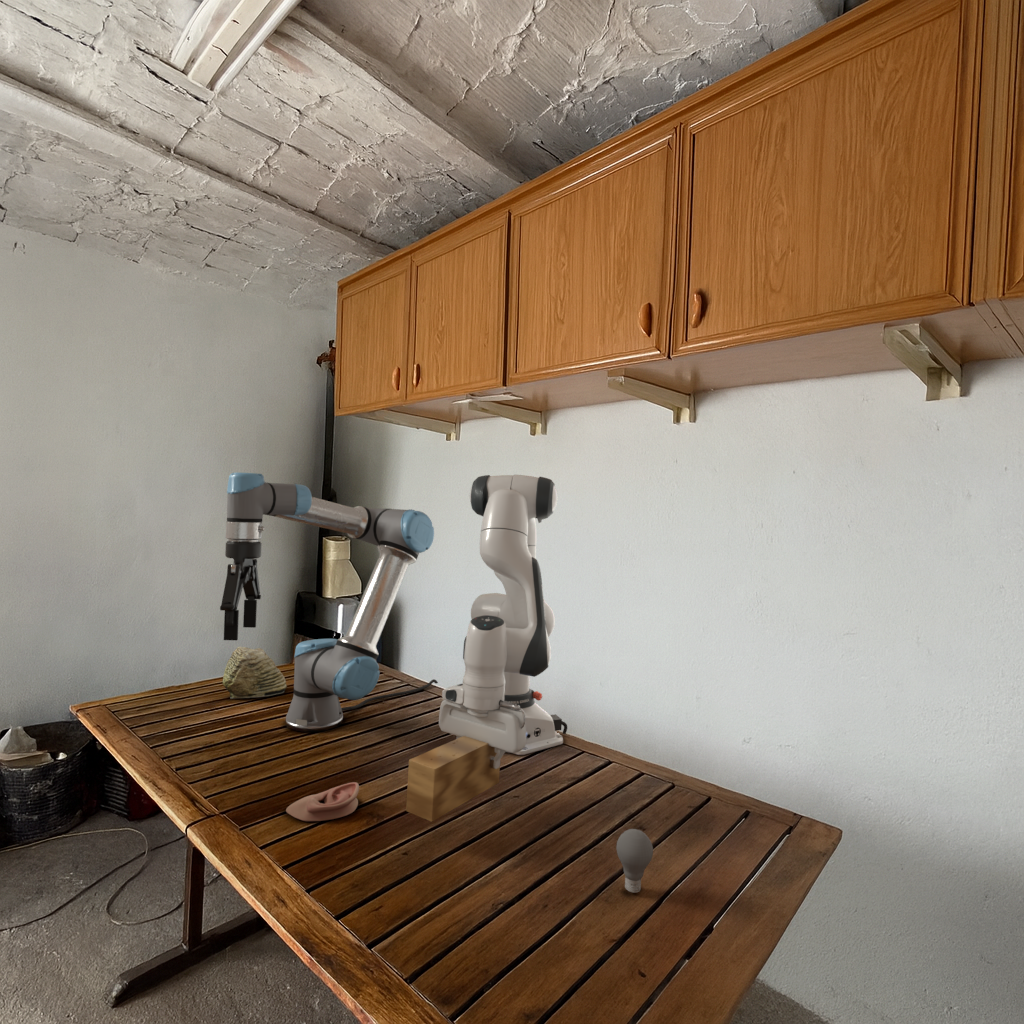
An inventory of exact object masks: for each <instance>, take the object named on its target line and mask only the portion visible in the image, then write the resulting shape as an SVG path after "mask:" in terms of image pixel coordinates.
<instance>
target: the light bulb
mask: <svg viewBox="0 0 1024 1024" xmlns="http://www.w3.org/2000/svg"><path fill="white" fill-rule="evenodd" d="M615 849H616V854H617V857H618V859H619V861H620V863H621V865H622V867H623V873H624V874H623V875H624V876H625V878H624V888H625V890H627V891H628V892H630V893H634V894H635V893H639V892H640V891H641V889H642V887H641V886H642V879H643V877H644V875H645V871H646V868H647V867H648V866H649V864H650V863H651V861H652V859H653V855H654V847H653V843H652V841H651V838H649V836H648V835H647V834H646V833H645V832H643V831H642V830H641V829H636V828H629V829H627V830H625V831H623V832H622V833H621V834H620V835H619V837H618V839H617V841H616V847H615Z"/></svg>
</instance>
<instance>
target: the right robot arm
mask: <svg viewBox="0 0 1024 1024" xmlns="http://www.w3.org/2000/svg"><path fill="white" fill-rule="evenodd" d="M555 485H556V484H555V482H554V481H553V480H552V479H550V478H548V477H544V476H539V477H538V476H531V475H524V474H513V475H511V474H506V475H505V474H503V475H490V474H487V475H486V474H485V475H480V476H477V477H476V478H475V479H474V480H473V481H472V484H471V487H470V491H469V502H470V507H471V509H472V510H473V512H474V513H475V514H477V515H479V516H481V517H482V522H481V529H480V534H479V535H480V536H479V555H480V557H481V560H482V561H483V563H484V564H485V565H486V566H487V567H488V568H489V569H491V570H492V571H493V574H494V575H495V576H496V578H497V579H498V580H499V581H500V582H501V584H502V585H503V589H504V592H505V593H499V592H491V593H489V592H488V593H482V594H480V595H478V596H477V597H476V598H475V599H474V601H473V603H472V604H471V608H470V619H471V620H470V621H469V624H468V628H467V632H466V635H465V637H464V640H463V650H462V651H463V652H462V659H463V662H464V667H465V671H464V674H463V678H462V683H459V684H454V685H452V686H449V687H446V688H444V689H442V691H441V697H442V699H443V700H442V701H441V703H440V705H439V712H438V727H439V728H440V730H441V732H444V733H447V734H449V735H453V736H456V737H455V739H458V738H460V737H462V736H466V737H470V738H473V739H476V740H479V741H483V742H486V743H488V745H489V746H491V747H494V748H495V753H497V754H496V756H495V757H493V758H491V759H490V767H491V768H494V769H497V768H499V767H500V768H501V759H502V758H503V756H504V755H505V753H509V754H514V755H518V756H524V755H528V754H532V753H535V752H539V751H542V750H546V749H549V748H553V747H556V746H560V745H563V744H564V738H563V735H567V731H568V724H567V723H566V722H565V721H563V719H562V718H561V717H559V716H558V715H557V714H550V713H549V712H547V711H546V710H545V709H544V708H542V707H541V706H540V705H539V704H538V703H536V702H535V700H536V701H542V699H543V694H542V693H541V692H539V691H538V690H536V691H534V690H533V689H532V688H531V687H530V682H531V677H532V678H535V677H537V676H539V675H540V674H542V673H543V672H545V671H546V670H547V669H548V668H549V665H550V663H551V659H552V647H551V643H550V637H551V635H552V634H553V631H554V629H555V626H556V617H555V613H554V610H553V608H552V607H551V606H550V605H549V604H548V603H547V601H546V600H545V598H544V597H545V596H544V588H543V580H542V571H541V566H540V563H539V561H538V559H537V522H538V524H540V523H542V520H546V519H548V518H549V517H551V516H552V515H553V514H554V511H555V509H556V508H557V504H558V499H559V498H558V497H559V496H558V490H557V488H556V486H555ZM536 519H537V522H536ZM562 726H563V730H562ZM558 731H562V735H561V734H560V733H559V732H558ZM557 732H558V733H557Z"/></svg>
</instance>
